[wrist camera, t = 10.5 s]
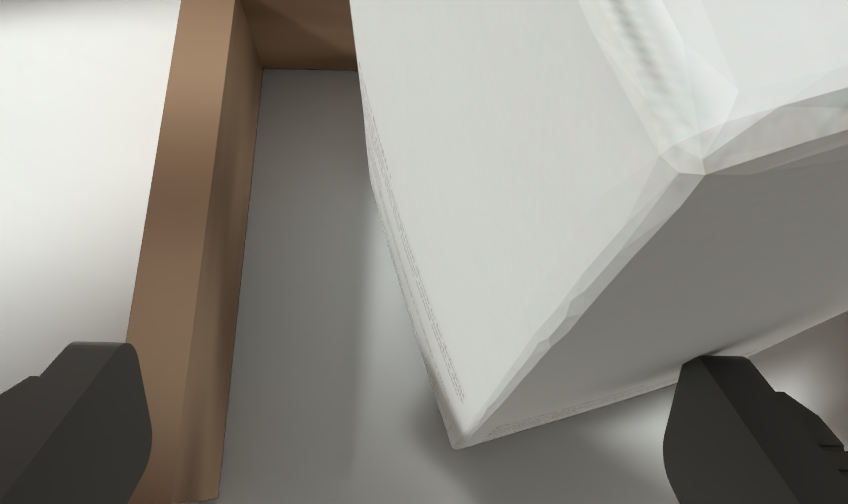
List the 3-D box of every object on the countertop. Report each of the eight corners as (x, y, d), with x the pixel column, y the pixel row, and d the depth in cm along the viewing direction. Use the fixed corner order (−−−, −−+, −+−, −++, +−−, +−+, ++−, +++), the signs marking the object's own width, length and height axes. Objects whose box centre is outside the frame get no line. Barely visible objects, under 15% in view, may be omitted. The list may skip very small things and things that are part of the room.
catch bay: (979, 500, 14) (1123, 507, 11) (162, 497, 14) (99, 504, 11) (858, 47, 18) (942, -31, 15) (223, 30, 18) (190, -54, 15)
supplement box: (750, 365, 15) (2107, -188, 3) (446, 457, 14) (657, 190, 2) (626, 107, 17) (1085, -731, 6) (364, 170, 16) (249, -671, 5)
